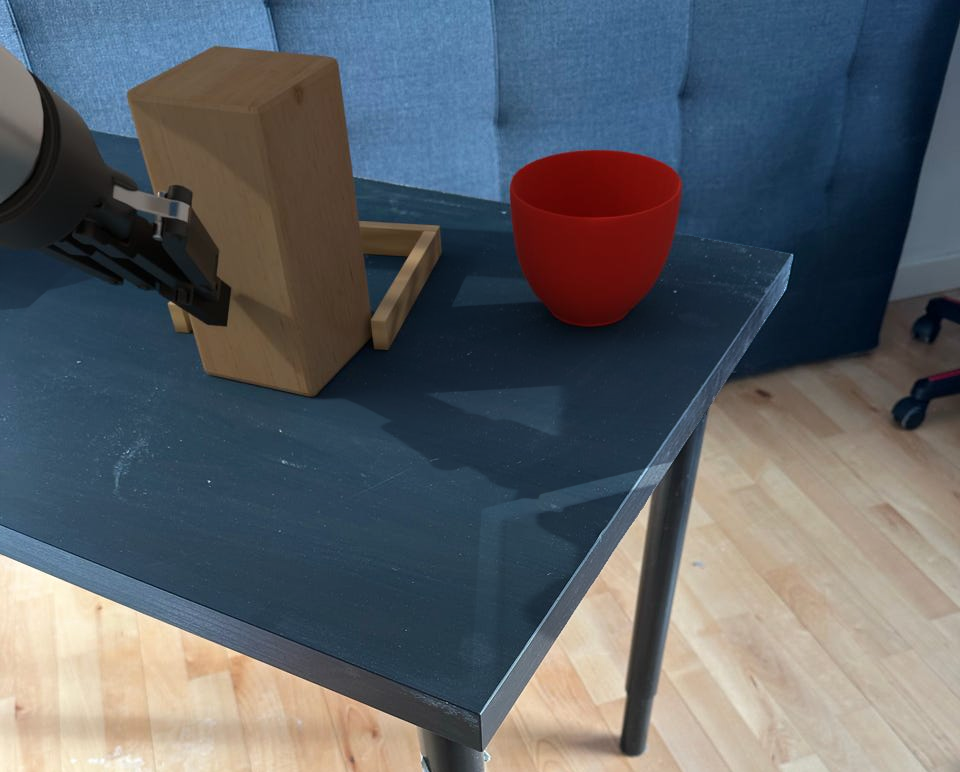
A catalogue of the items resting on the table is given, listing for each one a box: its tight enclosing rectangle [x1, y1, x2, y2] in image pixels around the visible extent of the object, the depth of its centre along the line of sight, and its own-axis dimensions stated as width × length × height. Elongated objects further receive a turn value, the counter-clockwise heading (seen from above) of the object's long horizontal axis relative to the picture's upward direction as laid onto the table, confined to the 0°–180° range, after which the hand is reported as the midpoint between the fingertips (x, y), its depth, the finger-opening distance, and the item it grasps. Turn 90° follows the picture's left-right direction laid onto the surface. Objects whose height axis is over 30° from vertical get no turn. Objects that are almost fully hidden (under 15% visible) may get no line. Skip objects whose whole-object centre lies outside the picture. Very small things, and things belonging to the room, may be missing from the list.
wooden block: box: [126, 45, 373, 397], centre depth 67 cm, size 10×10×20 cm
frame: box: [167, 220, 443, 351], centre depth 80 cm, size 17×18×2 cm
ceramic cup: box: [509, 149, 683, 327], centre depth 75 cm, size 13×17×10 cm
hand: (219, 306), depth 65 cm, fingers closed
